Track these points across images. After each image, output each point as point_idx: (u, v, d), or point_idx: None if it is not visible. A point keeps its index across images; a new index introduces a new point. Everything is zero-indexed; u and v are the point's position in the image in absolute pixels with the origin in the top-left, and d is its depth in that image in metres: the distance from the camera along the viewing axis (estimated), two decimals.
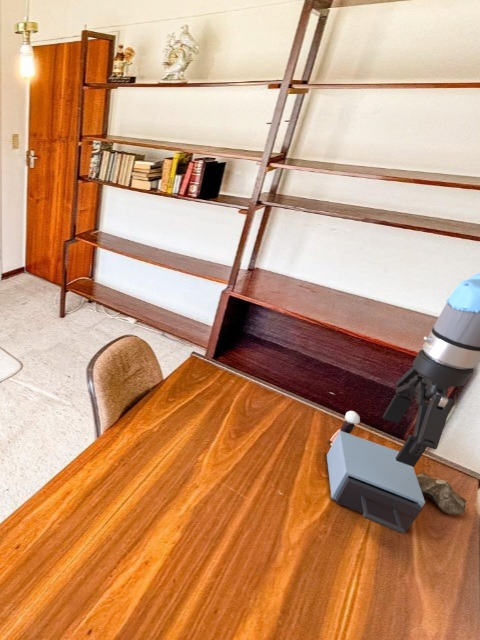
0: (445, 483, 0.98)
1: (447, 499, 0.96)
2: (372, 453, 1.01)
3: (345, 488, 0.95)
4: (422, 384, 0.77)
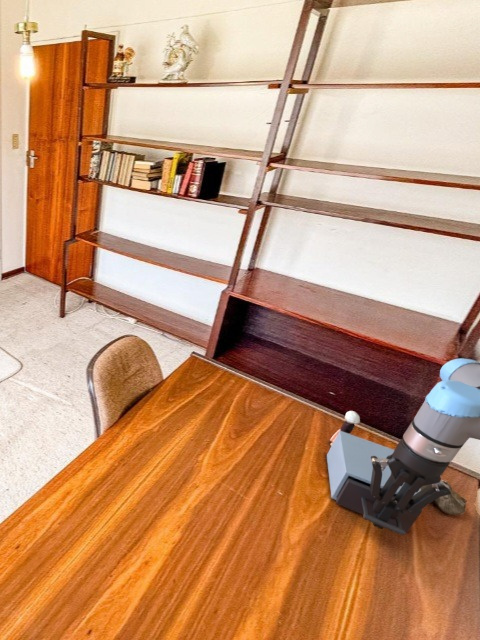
0: None
1: (447, 499, 0.96)
2: (372, 453, 1.01)
3: (345, 489, 0.95)
4: (424, 479, 0.81)
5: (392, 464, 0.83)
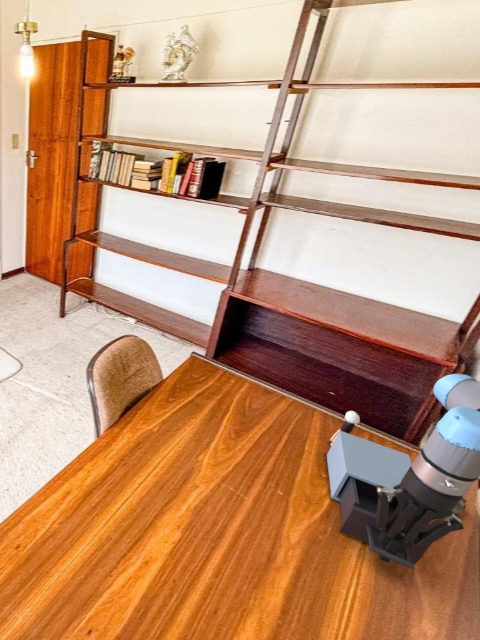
0: None
1: None
2: (372, 453, 1.01)
3: (349, 516, 0.89)
4: (435, 512, 0.75)
5: (400, 495, 0.77)
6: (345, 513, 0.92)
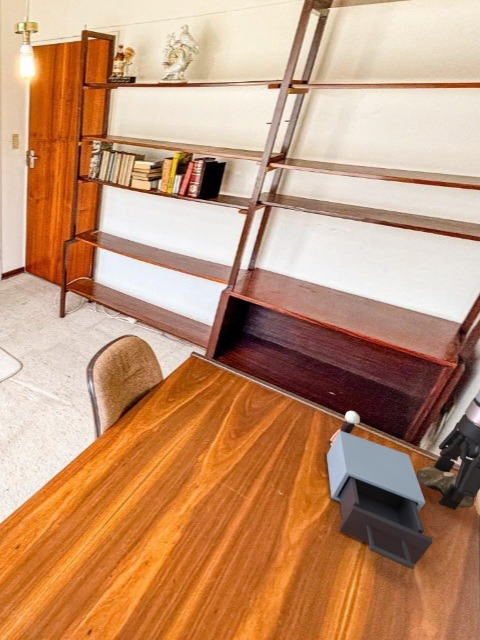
0: (453, 475, 0.96)
1: None
2: (372, 453, 1.01)
3: (349, 516, 0.89)
4: None
5: None
6: (345, 513, 0.92)
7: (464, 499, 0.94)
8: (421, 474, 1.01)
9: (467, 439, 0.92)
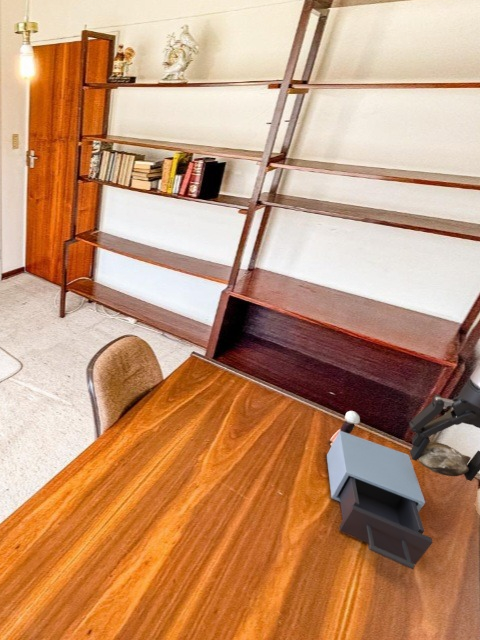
0: (453, 449, 0.88)
1: (432, 452, 0.89)
2: (372, 453, 1.01)
3: (349, 516, 0.89)
4: None
5: (458, 406, 0.84)
6: (345, 513, 0.92)
7: (430, 459, 0.89)
8: None
9: None
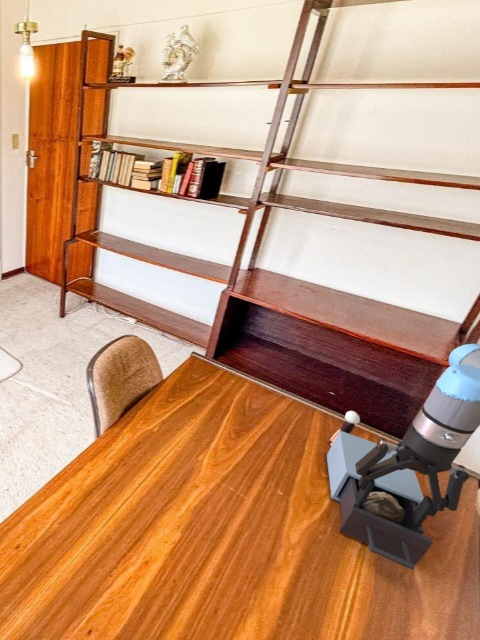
0: (383, 492, 0.91)
1: (369, 497, 0.91)
2: None
3: (349, 517, 0.88)
4: (435, 466, 0.79)
5: (402, 451, 0.81)
6: (345, 514, 0.92)
7: (369, 499, 0.89)
8: None
9: None
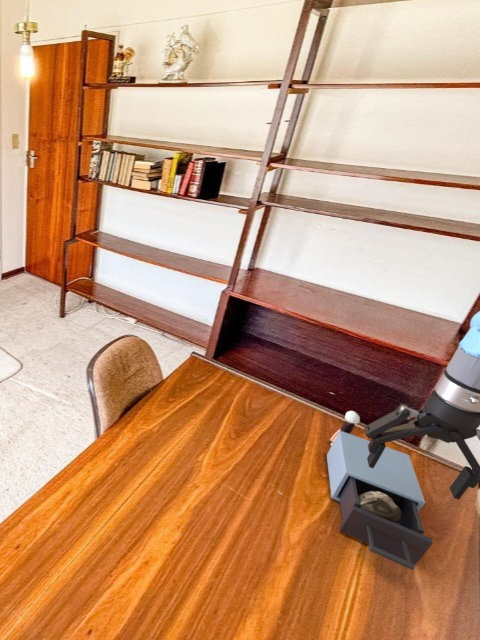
0: None
1: (364, 498, 0.91)
2: None
3: (349, 517, 0.88)
4: (459, 433, 0.75)
5: (424, 418, 0.78)
6: (345, 513, 0.92)
7: (363, 500, 0.90)
8: None
9: None
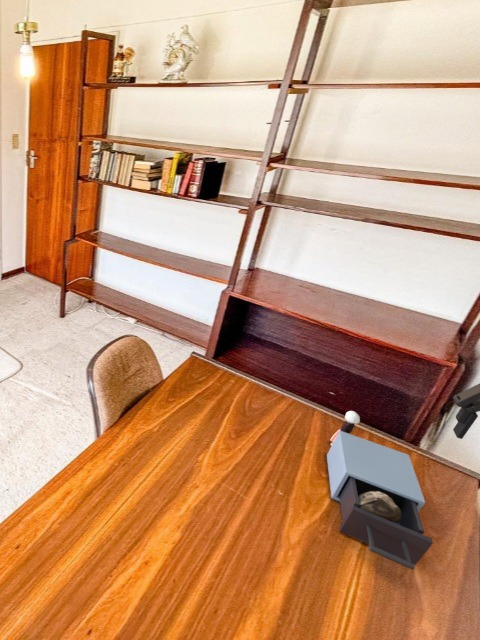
0: None
1: (364, 498, 0.91)
2: (372, 453, 1.01)
3: (349, 517, 0.88)
4: None
5: None
6: (345, 513, 0.92)
7: (363, 500, 0.90)
8: None
9: None
